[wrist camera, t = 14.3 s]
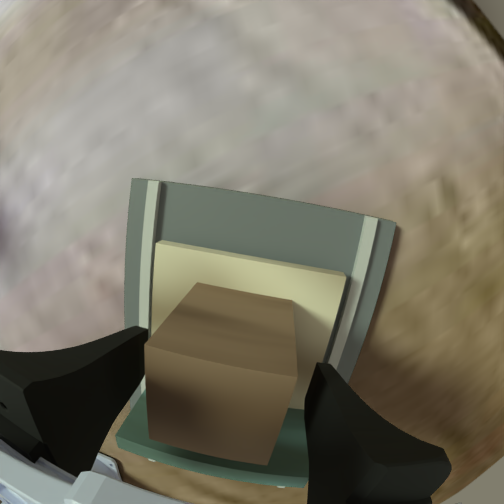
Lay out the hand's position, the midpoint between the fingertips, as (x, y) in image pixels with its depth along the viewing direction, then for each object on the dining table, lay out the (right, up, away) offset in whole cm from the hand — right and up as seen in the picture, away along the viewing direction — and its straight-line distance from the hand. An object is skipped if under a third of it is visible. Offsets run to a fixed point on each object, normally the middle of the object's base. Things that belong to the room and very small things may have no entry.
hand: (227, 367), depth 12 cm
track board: (0, -3, +6) cm, 7 cm away
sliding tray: (0, 0, +4) cm, 4 cm away
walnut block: (0, +1, +3) cm, 3 cm away
